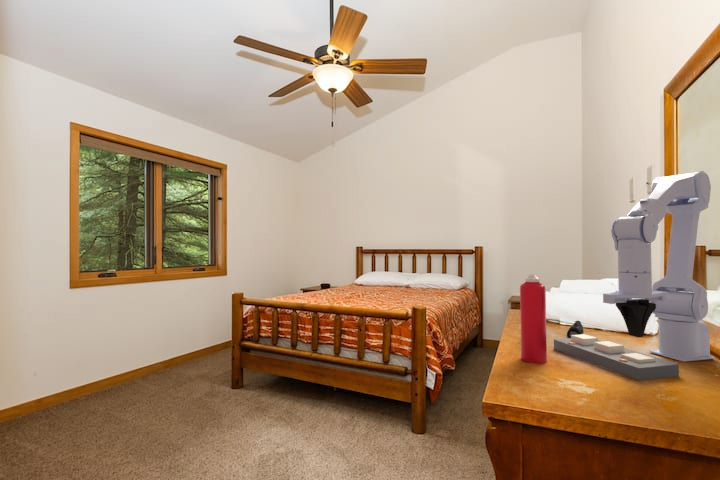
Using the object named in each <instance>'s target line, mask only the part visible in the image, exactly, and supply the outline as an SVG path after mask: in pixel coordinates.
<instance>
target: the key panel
mask: <svg viewBox="0 0 720 480" xmlns="http://www.w3.org/2000/svg"><path fill="white" fill-rule="evenodd" d="M598 342H602V340H598ZM553 350H554V351H555V350H556V351H558V352H561V353H564V354H566V355H568V354H569V356H571V355H572V356H571V357H574V358H576V357H577V359H579V358H580V360H582V361H585V362H588V363H590V364H593V365H596V366H597V367H601V368H603V367H604V369H606V370H609V371H611V370H612V372H614V373H617V374H620V375H623V376H625V377H628V378H630V379H633V380H636V381H638V382H640V381H641V382H642V380H643V381H650V380H652V381H653V380H659V379H661V380H662V379H669V378H670V379H671V378H678V377H680V364H679V363H677V362H672V361H669V360H667V359H663V358H659V357H656V356H653V355H649V354H647V353H643V352H638V351H635V350H633V349H628V348H626V347H624V353H613V354H608V353H605V352H602V351H599V350H596V349H594V345H585V346H584V345H580V344H577V343H574V342H571V338H568V337H567V338H556V339H553ZM630 353H638V354H642V355H645V356H648V357H652V358H655V362H651V363H641V364H639V363H636V362H633V361H630V360H627V359H623V358H621V354H630Z"/></svg>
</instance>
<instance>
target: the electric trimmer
mask: <svg viewBox="0 0 720 480" xmlns="http://www.w3.org/2000/svg"><path fill="white" fill-rule="evenodd" d="M583 332H584V327H583V324H582V322H581V321H580V320H576V321H574V323H573V324H572V325H571V326H570V327H569V328H568V329H567V332H566V337H567V338H571V335H580V334H583Z"/></svg>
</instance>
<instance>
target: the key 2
mask: <svg viewBox="0 0 720 480" xmlns="http://www.w3.org/2000/svg"><path fill="white" fill-rule="evenodd" d="M621 358H623V359H627V360H630V361H633V362H636V363H639V364H641V363H651V362H655V358H652V357H648V356H645V355H642V354H638V353H630V354H621Z"/></svg>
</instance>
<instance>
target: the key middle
mask: <svg viewBox="0 0 720 480" xmlns="http://www.w3.org/2000/svg"><path fill="white" fill-rule="evenodd" d="M601 341H602V340H601ZM624 348H625V347H624V344H621V343H620V344H619V343H616V342H612V341H609V340H604V341H602V342H594V349H596V350H599V351H602V352H605V353H608V354H613V353H624Z"/></svg>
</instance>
